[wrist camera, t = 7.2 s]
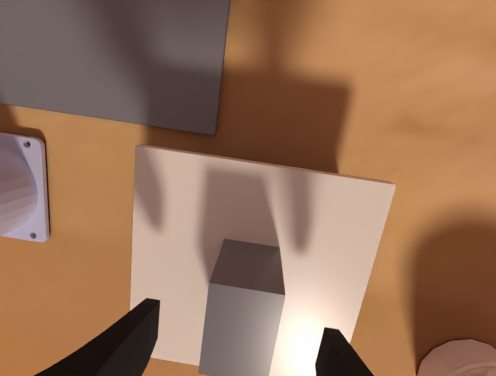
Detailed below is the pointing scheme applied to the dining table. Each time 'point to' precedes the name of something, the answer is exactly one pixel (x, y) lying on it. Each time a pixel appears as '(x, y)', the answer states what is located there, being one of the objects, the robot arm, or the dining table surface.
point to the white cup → (460, 359)
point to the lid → (250, 258)
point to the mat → (116, 59)
